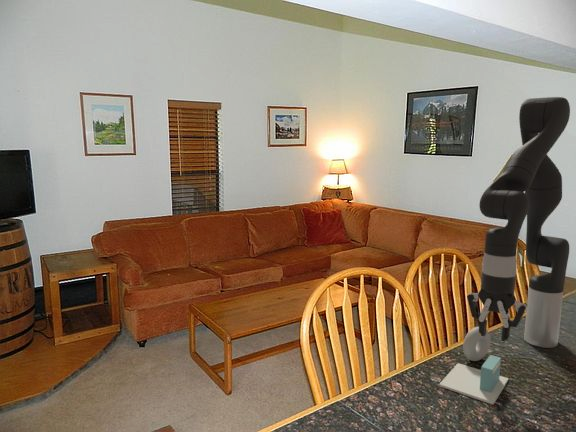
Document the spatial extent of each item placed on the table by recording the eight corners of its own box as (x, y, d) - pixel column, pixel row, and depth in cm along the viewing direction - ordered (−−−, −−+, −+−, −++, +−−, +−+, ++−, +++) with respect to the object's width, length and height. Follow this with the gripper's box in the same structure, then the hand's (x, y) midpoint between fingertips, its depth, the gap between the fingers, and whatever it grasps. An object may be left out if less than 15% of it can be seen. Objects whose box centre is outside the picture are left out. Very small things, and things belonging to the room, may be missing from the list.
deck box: (488, 376, 119) (490, 354, 118) (499, 379, 117) (501, 357, 116) (479, 389, 113) (481, 366, 112) (490, 392, 111) (492, 370, 110)
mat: (457, 365, 126) (457, 363, 126) (508, 380, 118) (508, 378, 118) (439, 386, 115) (439, 384, 115) (493, 404, 107) (493, 402, 107)
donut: (469, 367, 125) (472, 333, 123) (459, 362, 128) (461, 328, 126) (491, 358, 130) (494, 325, 128) (481, 353, 133) (483, 321, 131)
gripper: (534, 273, 109) (528, 340, 111) (473, 263, 117) (468, 325, 120) (527, 280, 103) (521, 351, 106) (463, 269, 112) (459, 335, 114)
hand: (493, 337), depth 113 cm, fingers open, 4 cm apart
